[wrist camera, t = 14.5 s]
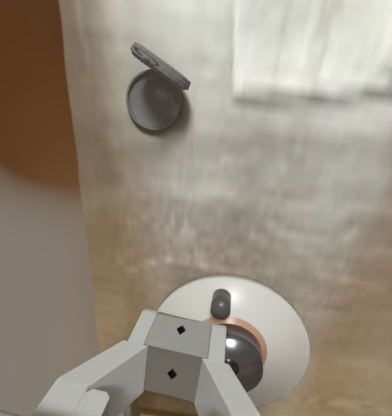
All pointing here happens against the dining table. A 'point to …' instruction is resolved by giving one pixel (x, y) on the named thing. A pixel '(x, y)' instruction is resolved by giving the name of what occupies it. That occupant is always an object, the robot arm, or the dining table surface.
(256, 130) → the dining table surface
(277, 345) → the turntable
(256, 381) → the cover
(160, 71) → the pocket watch
